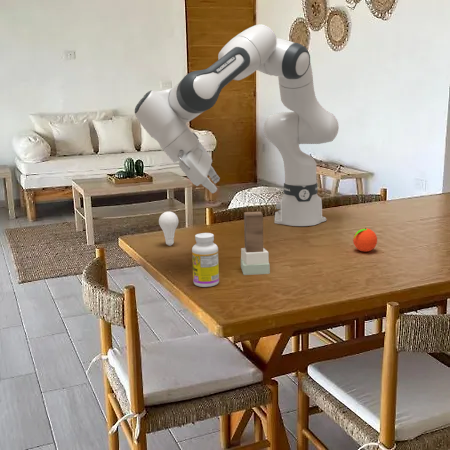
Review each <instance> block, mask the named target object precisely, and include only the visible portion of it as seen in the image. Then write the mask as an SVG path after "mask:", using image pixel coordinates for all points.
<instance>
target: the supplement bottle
mask: <svg viewBox="0 0 450 450" xmlns="http://www.w3.org/2000/svg"><path fill="white" fill-rule="evenodd" d="M194 237H195V238H194V239H195V242H196V243H195V244H194V245H193V246H192V248H191V253H192V255H191V258H192V259H191V260H192V261H191V262H192V280H193V284H194V285H195V286H197V287H199V288H200V287H201V288H209V287H214V286H217V285H218V284H219V283H220V270H219V268H220V267H219V266H220V265H219V247H218V245H217V244H216V243H214V240H215V238H214V237H215V235H214V234H213V233H211V232H202V233H196V234H195V235H194Z"/></svg>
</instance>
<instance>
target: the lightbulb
mask: <svg viewBox="0 0 450 450" xmlns="http://www.w3.org/2000/svg"><path fill="white" fill-rule="evenodd" d="M158 218H159V219H158V225H159V226H160V228H161V230H162V232H163V235H164V239H165V245H167V246H169V247H170V246H172V245H174V243H175V232H176V229H177V227H178V225H179V218H178V215H177V214H176V213H175V212H173V211H165V212H163V213H161V215H160V216H159V217H158Z"/></svg>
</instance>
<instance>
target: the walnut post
mask: <svg viewBox="0 0 450 450" xmlns="http://www.w3.org/2000/svg"><path fill="white" fill-rule="evenodd" d="M243 216H244V217H243V219H244V220H243V221H244V223H243V224H244V226H243V227H244V248H245V250H246V252H263V248H264V215H263V213H262V211H245V212H243Z"/></svg>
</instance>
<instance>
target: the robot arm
mask: <svg viewBox="0 0 450 450" xmlns="http://www.w3.org/2000/svg"><path fill="white" fill-rule="evenodd" d="M217 56H218V57H217V58H218V60H216V61H215V62H214V63H212V65H210V66H209V67H207V68H204V69H200V70H194V71H190V72H189V73H187V74H185V75H184V76H183V78H182V79H181V80H180V81H179V82H178V83H177V84H176V85H175V86H174V87H170V88H167V89H163V90H149V91H147V92H146V93H145V94H144V95H143V97H142V98H140V100H139V101H138V103H137V104H136V106H135V108H134V115H135V117H136V119H137V120H138V123H140V125H141V126H142V128H143V129H144V130H145V132H146V133H147V134H148V135H149V136H150V137H151V138H153V139H154V140H155V141H156V142H157V143H158V144H159V146H160V148H161V150H162V151H163V152H164V153H165V154H166V155H167V157H168V158H169V159H170V160H171V161H172V162H173V163H174V164H175V163H177V162H178V167H180V169H181V171H182V172H183V173H184V175H185V176H186V177H187V178H188V179H189V181H190V182H191V183H192V184H193V185H194V186H196V187H198V186H200V185H201V186H202V187H204V188H206V190H208V191H209V192H210V193H211V194H214V193H216V192H218V187H217V185H216V184H217V183H219V182H220V179H221V177H219V175H218V174H217V171H215V168H214V167H213V166H212V163H213V158H212V157H211V155H210V154H209V152H208V150H207V149H206V148H205V147H204V145H203V144H202V143H201V141H200V140H199V136H198V135H197V134H196V133H195V132H192V131H191V129H190V128H189V127H188V125H186V123H189V122H191V121H192V120H194V119H195V118H197V117H198V116H199V115H201V114H203V113H204V112H206V111H208V110H209V109H212V108H213V107H214V105H215V104H216V102H217V101H218V99H219V97H220V94H221V91H222V90H223V89H224V88H225V87H226V86H227V85H228V84H229V83H230V82H231V83H232V81H233V80H234V81H241V80H243V79H245V78H247V77H249V76H250V75H252V74H254V73H255V72H256V71H258V72H260V73H263V74H264V75H265V74H266V75H269V76H275V77H277V78H278V86H279V94H280V101H281V103H282V104H283V106H284V107H285V108H286V109H287V110H290V111H282V112H276V113H272V114H269V115H268V116H267V118H266V119H265V121H264V123H263V131H264V132H263V133H264V136H265V138H266V139H267V140H268V142H270V143H271V144H272V145H274V146H275V148H276V149H277V150H278V152H279V153H280V155H281V158H282V160H283V167H284V183H283V188H282V189H283V195H282V196H281V199H280V201H279V202H276V206H275V208H276V209H277V210H278V211H275V212H274V222H273V223H274V224H279V225H285V226H290V227H292V226H293V227H308V226H309V227H310V226H315V225H320V224H321V223H323V222H326V221H327V217H325V216H323V203H322V198H321V197H320V196H319V195H318V193H319V192H318V190H319V186H318V182H317V162H316V161H317V160H315V158H313V156H311V155H309V154H308V153H305V152H303V151H302V150H301V148H300V145H320V144H326V143H331V142H333V141H334V140H335V139H336V138H337V135H338V133H339V126H340V125H339V122H338V121H339V120H338V119H337V118H336V116H335V115H334V114H333V113H331V112H329V111H328V110H326V108H324V107H323V106H322V105H321V104H320V102H319V101H318V99H317V96H316V92H315V87H314V78H313V69H312V64H311V55H310V53H309V49H308V48H307V47H306V46H305V45H303V44H301V43H299V42H293V41H290V40H288V39H286V38H283V37H282V38H281V37H277V36H276V34H275V32H274V31H273V29H272V28H271V27H270V26H267V24H261V23H260V24H259V23H258V24H255V25H253V26H250V27H248V28H246V29H244V30H243V31H242V32H239V33H238V34H237V35H235V36H234V37H233V38H231V39H230V40H229V41H228V42H227V43H226V44H225V45H224V46H222V48H221V50H220V51H219V52H218V55H217ZM208 176H209V177H210V178H209V177H208Z"/></svg>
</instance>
